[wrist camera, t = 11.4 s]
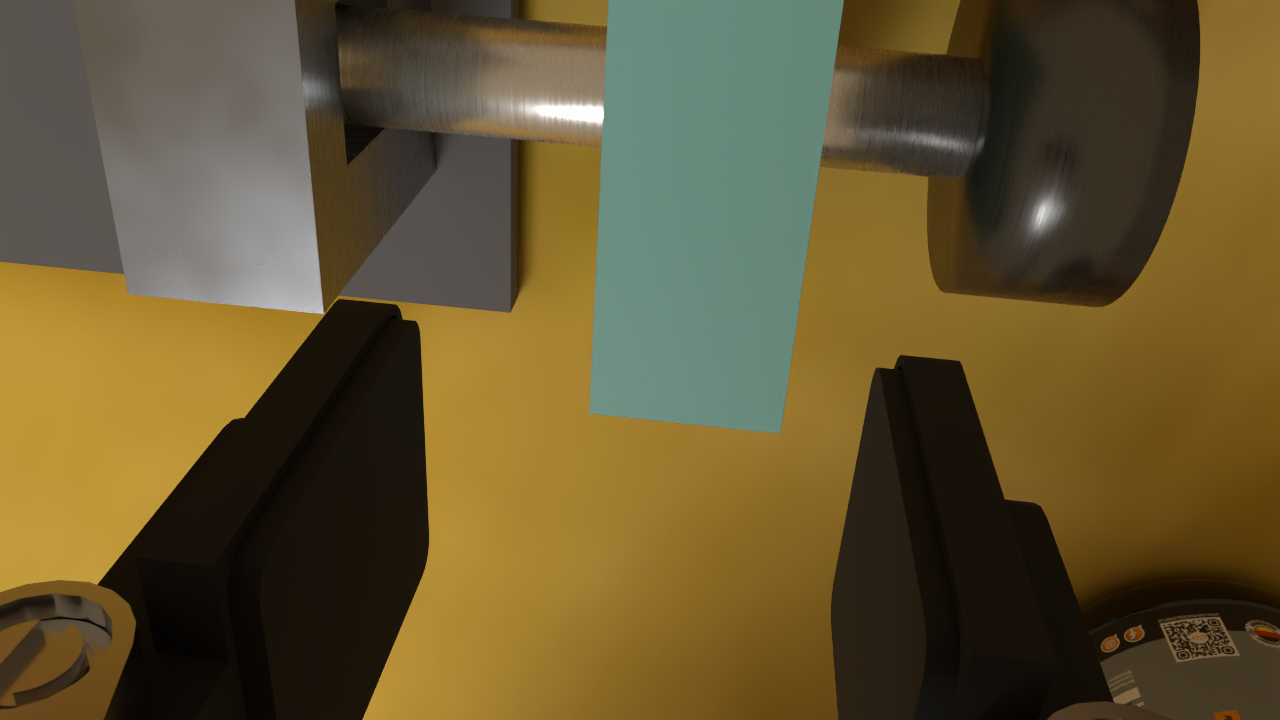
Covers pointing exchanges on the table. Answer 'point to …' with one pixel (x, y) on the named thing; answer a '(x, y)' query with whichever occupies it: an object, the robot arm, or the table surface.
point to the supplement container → (1191, 648)
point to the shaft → (880, 122)
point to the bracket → (241, 149)
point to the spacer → (707, 204)
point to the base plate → (82, 213)
